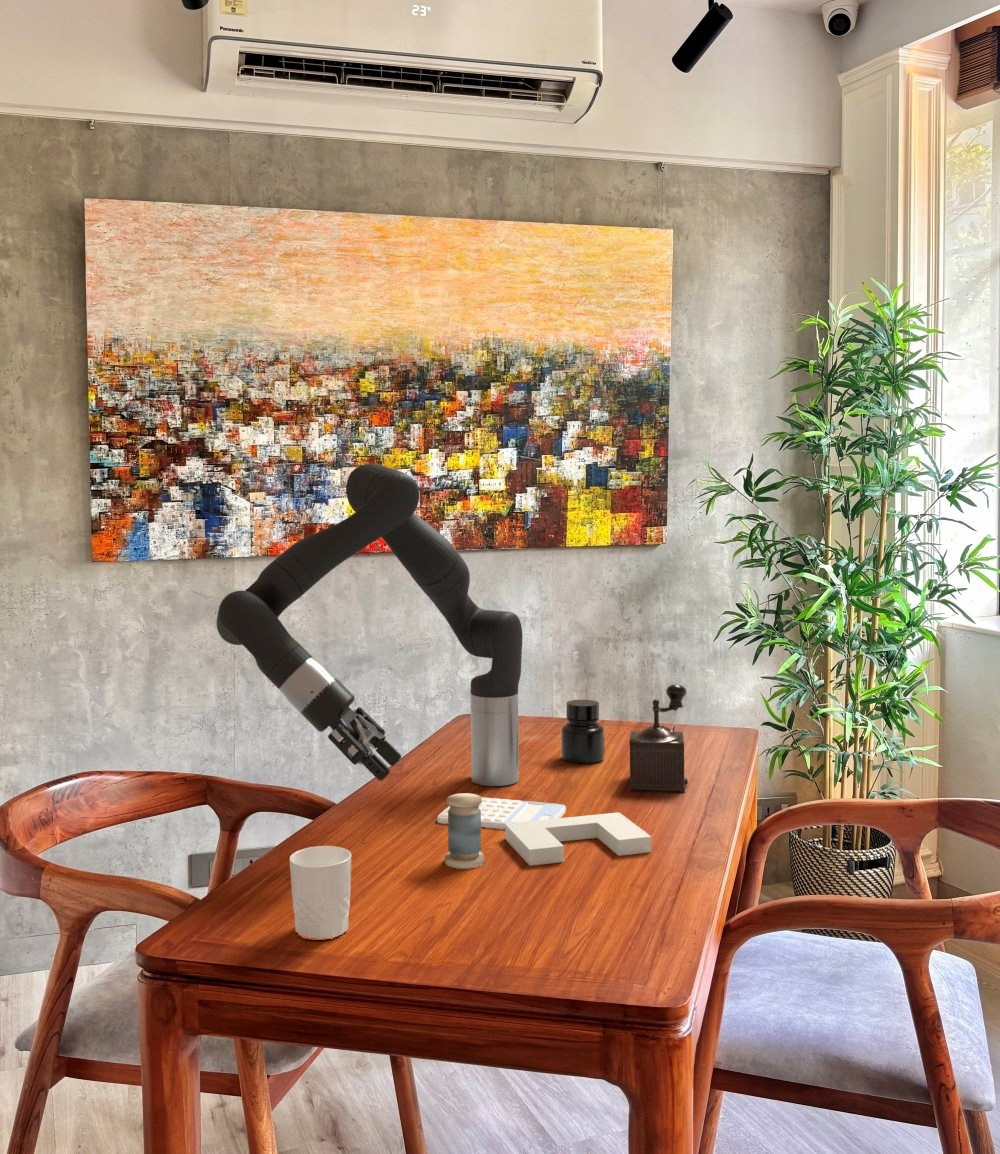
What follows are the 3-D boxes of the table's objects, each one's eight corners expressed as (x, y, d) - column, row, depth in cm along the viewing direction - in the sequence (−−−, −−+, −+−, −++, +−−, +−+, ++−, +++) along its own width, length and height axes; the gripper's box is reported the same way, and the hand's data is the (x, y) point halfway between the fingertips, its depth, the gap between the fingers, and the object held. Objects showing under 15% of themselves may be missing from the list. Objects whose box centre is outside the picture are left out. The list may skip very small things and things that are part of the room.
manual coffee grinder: (688, 793, 200) (689, 698, 199) (628, 791, 202) (629, 697, 200) (685, 771, 215) (686, 682, 214) (630, 769, 217) (630, 681, 215)
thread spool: (440, 857, 167) (440, 794, 166) (478, 853, 168) (478, 791, 168) (450, 871, 161) (450, 805, 160) (488, 866, 163) (488, 802, 162)
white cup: (294, 919, 143) (292, 846, 143) (354, 917, 144) (352, 844, 143) (288, 945, 136) (286, 867, 135) (351, 942, 136) (349, 865, 135)
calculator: (461, 803, 197) (460, 793, 196) (567, 812, 191) (567, 802, 191) (435, 826, 184) (434, 815, 184) (548, 836, 178) (548, 825, 178)
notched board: (505, 838, 175) (504, 823, 175) (619, 826, 181) (619, 812, 181) (529, 865, 163) (529, 849, 163) (651, 852, 169) (651, 836, 168)
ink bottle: (613, 757, 227) (613, 701, 225) (593, 767, 219) (593, 709, 218) (572, 751, 232) (572, 696, 231) (552, 760, 224) (551, 704, 223)
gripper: (321, 685, 157) (399, 764, 157) (344, 669, 171) (417, 741, 171) (286, 721, 158) (364, 799, 158) (313, 701, 172) (384, 773, 172)
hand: (391, 768), depth 165 cm, fingers open, 8 cm apart
